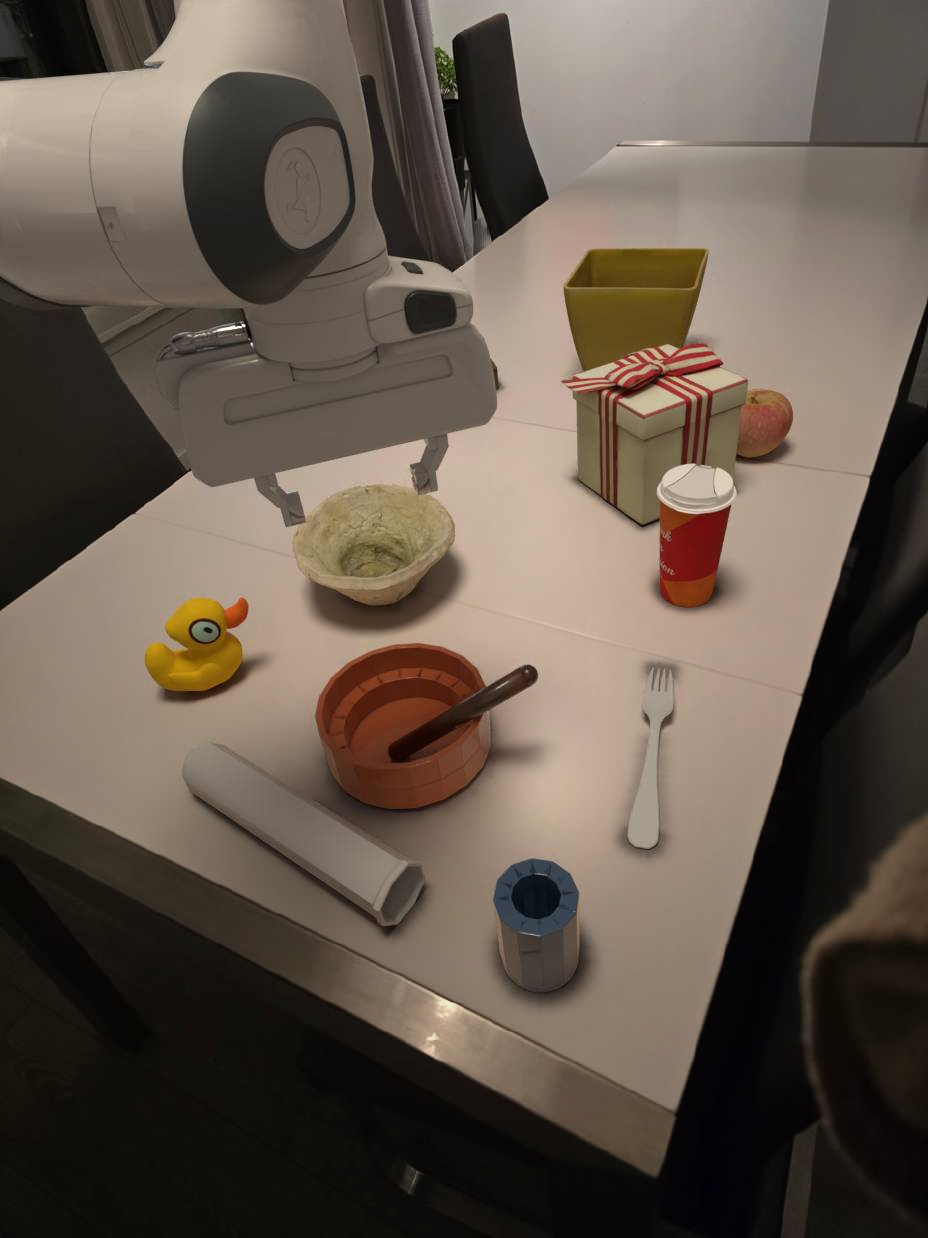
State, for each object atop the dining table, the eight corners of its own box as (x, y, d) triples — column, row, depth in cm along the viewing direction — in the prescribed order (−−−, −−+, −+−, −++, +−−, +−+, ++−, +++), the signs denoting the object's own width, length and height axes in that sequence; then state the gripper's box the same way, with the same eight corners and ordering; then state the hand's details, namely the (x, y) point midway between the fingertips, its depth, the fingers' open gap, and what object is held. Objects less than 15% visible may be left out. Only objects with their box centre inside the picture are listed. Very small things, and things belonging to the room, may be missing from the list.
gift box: (642, 436, 115) (649, 316, 104) (741, 487, 103) (760, 357, 92) (547, 477, 109) (543, 354, 98) (639, 537, 97) (647, 404, 86)
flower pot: (588, 347, 141) (588, 246, 130) (699, 351, 136) (710, 246, 125) (563, 395, 128) (561, 287, 117) (686, 402, 122) (696, 289, 111)
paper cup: (662, 563, 93) (671, 455, 83) (730, 578, 89) (747, 468, 80) (639, 604, 88) (646, 493, 78) (710, 621, 84) (726, 508, 75)
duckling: (263, 646, 88) (238, 574, 82) (272, 677, 84) (247, 603, 78) (158, 680, 86) (124, 608, 79) (163, 713, 82) (127, 640, 75)
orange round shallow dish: (346, 835, 68) (331, 791, 64) (317, 712, 80) (304, 669, 76) (514, 782, 71) (510, 737, 67) (463, 670, 82) (457, 626, 78)
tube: (158, 772, 70) (369, 917, 58) (197, 722, 72) (410, 852, 60) (191, 795, 75) (395, 935, 62) (228, 747, 76) (433, 873, 64)
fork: (623, 859, 67) (623, 843, 65) (647, 667, 80) (648, 649, 78) (657, 865, 66) (659, 849, 64) (676, 670, 79) (678, 652, 77)
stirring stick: (395, 768, 73) (541, 684, 65) (381, 756, 72) (527, 670, 64) (399, 754, 74) (543, 670, 66) (386, 742, 74) (529, 656, 66)
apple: (796, 445, 109) (807, 390, 104) (764, 473, 105) (774, 417, 100) (738, 429, 114) (745, 375, 109) (704, 455, 110) (711, 400, 105)
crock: (517, 1004, 56) (510, 947, 51) (491, 933, 60) (483, 874, 55) (591, 977, 57) (592, 919, 52) (560, 909, 61) (558, 848, 56)
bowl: (401, 572, 103) (482, 515, 95) (347, 659, 89) (436, 601, 81) (324, 493, 99) (401, 425, 91) (255, 571, 86) (338, 500, 77)
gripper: (141, 360, 44) (215, 566, 52) (497, 289, 47) (511, 493, 56) (142, 323, 48) (210, 517, 57) (465, 261, 52) (482, 453, 61)
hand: (361, 505), depth 57 cm, fingers open, 8 cm apart
